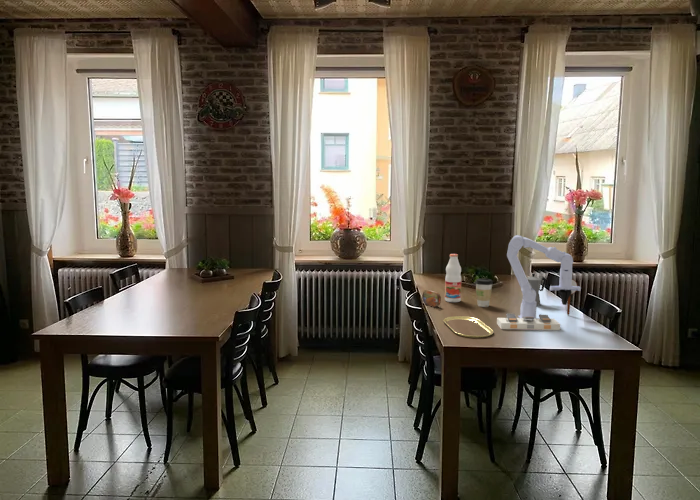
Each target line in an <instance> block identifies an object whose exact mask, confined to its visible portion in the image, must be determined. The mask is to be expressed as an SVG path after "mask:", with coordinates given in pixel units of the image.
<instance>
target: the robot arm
mask: <svg viewBox="0 0 700 500" xmlns="http://www.w3.org/2000/svg"><path fill="white" fill-rule="evenodd" d="M522 248H523V249H525V248H531V249H534V250H536V251H539V252H541V253H543V254H545V257H546V258H548V259H549V260H552V261H555V262H556V263H560V269H559V284H558V285H550V286H549V291H558V293H559V296H560V300H561V302H562V303H561V304H562V305H563V306H566V305H568V298H569V296H570V297H571V293H572V291H576V292H581V289H582V287H581V286H579V285H578V286H571V285H572V279H573V264H574V258H573V256H572V254H570V253H567V252H566V251H561V250H560V249H557V246H549V247H547V246H545V245H542V244H541V243H539V242H537V241H535V240H533V239H530V238H528V237H525V236H522V235H521V234H516V235H514V236H513V237H511V240H510V241H509V243H508V247H507V253H506V258H507V259H508V262H509V264H510V266H511V269H512V271H513V273H514V275H515V277H516V280H517V282H518V285H519V287H520V290H521V293H522V300H521V303H520V309H519V314H520V315H517V318H522V317H534V318H537V302H536V301H535V299H536V291H535V290H534V289H533V288H532V287H531V285H530V283H529V281H528V279H527V276H526V273H525V271H524V268H523V266H522V264H521V261H520V259H519V257H518V254H519V251H520V250H521V249H522ZM571 290H572V291H571Z"/></svg>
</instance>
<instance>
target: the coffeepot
mask: <svg viewBox="0 0 700 500" xmlns="http://www.w3.org/2000/svg"><path fill="white" fill-rule="evenodd" d="M535 275H536V273H531V276H528V277H527V276H526V277H527V279H528V281H529V283H530V285H531V287H532V288H533V289H534V290H535V291H536V299H535V301H536V302H537V306H540V305H541V299H540V292H543V291H544V289H545V286H546V283H547V279H546V277H545V276H540V277H539V276H538V277H536V276H535ZM537 306H536V307H537Z"/></svg>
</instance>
